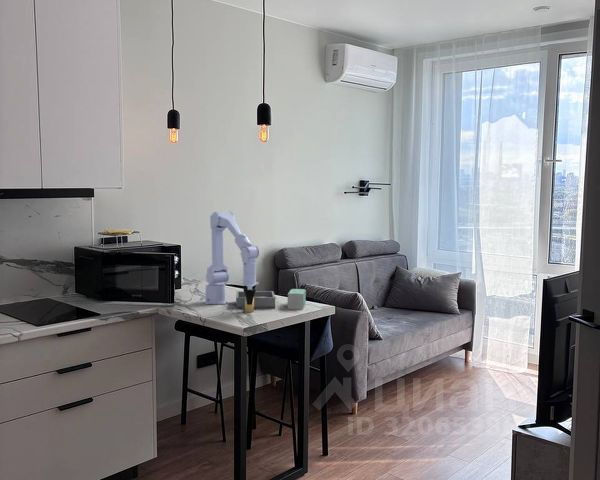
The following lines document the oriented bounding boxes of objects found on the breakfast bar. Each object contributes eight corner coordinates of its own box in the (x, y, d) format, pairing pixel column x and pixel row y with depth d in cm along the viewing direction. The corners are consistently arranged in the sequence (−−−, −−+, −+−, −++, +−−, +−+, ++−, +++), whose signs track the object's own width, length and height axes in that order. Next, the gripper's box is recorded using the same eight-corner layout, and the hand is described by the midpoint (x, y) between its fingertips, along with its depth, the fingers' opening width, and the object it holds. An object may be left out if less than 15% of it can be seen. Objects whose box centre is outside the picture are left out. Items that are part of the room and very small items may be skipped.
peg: (244, 312, 270) (245, 299, 270) (244, 310, 274) (244, 297, 274) (253, 312, 271) (254, 299, 270) (253, 310, 275) (253, 297, 274)
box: (305, 303, 293) (306, 288, 292) (303, 309, 279) (303, 293, 279) (290, 303, 294) (290, 288, 293) (287, 309, 280) (287, 293, 279)
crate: (236, 308, 279) (236, 297, 278) (236, 301, 295) (236, 291, 294) (275, 308, 281) (275, 297, 280) (273, 301, 297) (273, 291, 296)
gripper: (259, 275, 264) (258, 306, 265) (258, 270, 278) (258, 299, 280) (242, 275, 263) (242, 306, 265) (242, 270, 278) (242, 299, 279)
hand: (249, 302), depth 272 cm, fingers open, 7 cm apart
